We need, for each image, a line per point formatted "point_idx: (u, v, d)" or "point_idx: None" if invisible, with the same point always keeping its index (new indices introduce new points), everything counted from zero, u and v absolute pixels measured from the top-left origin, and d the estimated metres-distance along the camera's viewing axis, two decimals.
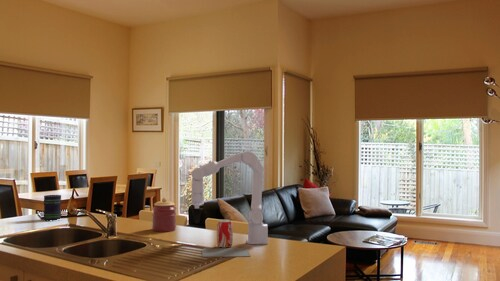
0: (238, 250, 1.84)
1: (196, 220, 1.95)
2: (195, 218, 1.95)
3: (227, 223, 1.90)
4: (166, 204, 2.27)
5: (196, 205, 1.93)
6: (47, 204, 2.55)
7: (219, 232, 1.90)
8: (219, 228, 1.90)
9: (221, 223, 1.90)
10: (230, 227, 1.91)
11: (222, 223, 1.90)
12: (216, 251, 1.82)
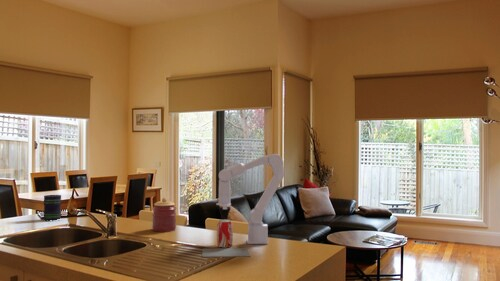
0: (238, 250, 1.84)
1: None
2: (223, 218, 2.01)
3: (227, 223, 1.90)
4: (166, 204, 2.27)
5: (224, 206, 1.95)
6: (47, 204, 2.55)
7: (219, 232, 1.90)
8: (219, 228, 1.90)
9: (221, 223, 1.90)
10: (230, 227, 1.91)
11: (222, 223, 1.90)
12: (216, 251, 1.82)
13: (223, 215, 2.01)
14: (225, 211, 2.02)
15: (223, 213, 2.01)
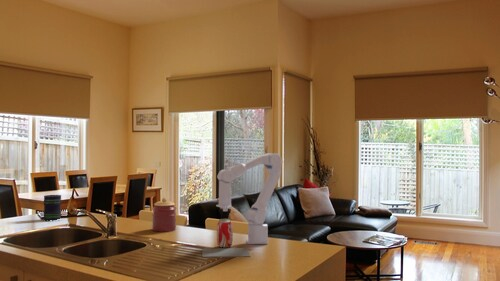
0: (238, 250, 1.84)
1: None
2: None
3: (227, 224, 1.89)
4: (166, 204, 2.27)
5: (224, 208, 1.89)
6: (47, 204, 2.55)
7: (219, 232, 1.89)
8: (219, 228, 1.89)
9: (221, 224, 1.89)
10: (230, 227, 1.89)
11: (222, 224, 1.89)
12: (216, 251, 1.82)
13: (223, 217, 1.95)
14: (225, 213, 1.95)
15: (223, 215, 1.95)
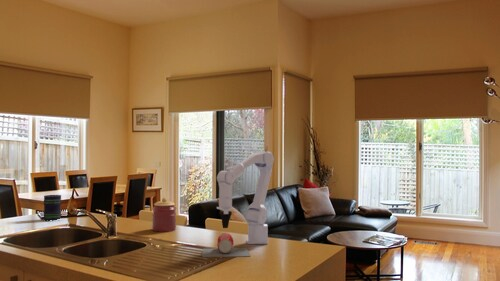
0: (238, 250, 1.84)
1: (225, 225, 1.88)
2: (223, 223, 1.87)
3: (227, 252, 1.78)
4: (166, 204, 2.27)
5: (225, 210, 1.81)
6: (47, 204, 2.55)
7: None
8: None
9: (221, 251, 1.78)
10: None
11: (222, 251, 1.78)
12: (216, 251, 1.82)
13: (224, 220, 1.87)
14: (226, 216, 1.88)
15: (224, 218, 1.88)
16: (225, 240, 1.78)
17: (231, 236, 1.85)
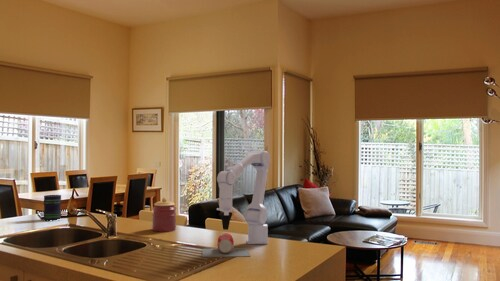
0: (238, 250, 1.84)
1: (225, 227, 1.84)
2: (224, 224, 1.84)
3: (227, 252, 1.78)
4: (166, 204, 2.27)
5: (226, 212, 1.78)
6: (47, 204, 2.55)
7: None
8: None
9: (221, 251, 1.78)
10: None
11: (222, 251, 1.78)
12: (216, 251, 1.82)
13: (224, 221, 1.84)
14: (226, 217, 1.84)
15: (224, 219, 1.84)
16: (225, 240, 1.78)
17: (231, 236, 1.86)
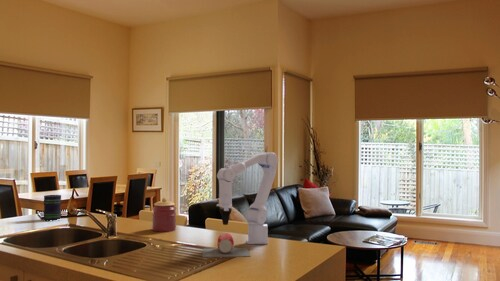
0: (238, 250, 1.84)
1: (225, 222, 1.91)
2: (224, 219, 1.91)
3: (227, 252, 1.78)
4: (166, 204, 2.27)
5: (225, 207, 1.85)
6: (47, 204, 2.55)
7: None
8: None
9: (221, 251, 1.78)
10: None
11: (222, 251, 1.78)
12: (216, 251, 1.82)
13: (224, 217, 1.91)
14: (226, 212, 1.91)
15: (224, 215, 1.91)
16: (225, 240, 1.78)
17: (231, 236, 1.86)
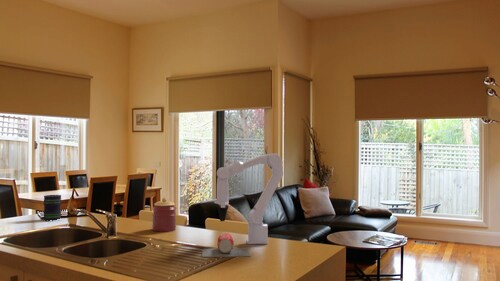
0: (238, 250, 1.84)
1: (222, 218, 2.00)
2: (221, 216, 2.00)
3: (227, 252, 1.78)
4: (166, 204, 2.27)
5: (222, 204, 1.94)
6: (47, 204, 2.55)
7: None
8: None
9: (221, 251, 1.78)
10: None
11: (222, 251, 1.78)
12: (216, 251, 1.82)
13: (221, 213, 2.00)
14: (223, 209, 2.00)
15: (221, 211, 2.00)
16: (225, 240, 1.78)
17: (231, 236, 1.86)
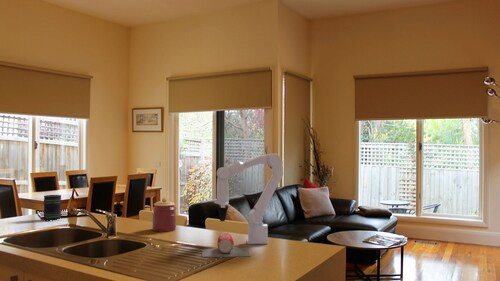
0: (238, 250, 1.84)
1: (222, 218, 2.00)
2: (221, 216, 2.00)
3: (227, 252, 1.78)
4: (166, 204, 2.27)
5: (222, 204, 1.94)
6: (47, 204, 2.55)
7: None
8: None
9: (221, 251, 1.78)
10: None
11: (222, 251, 1.78)
12: (216, 251, 1.82)
13: (221, 213, 2.00)
14: (223, 209, 2.00)
15: (221, 211, 2.00)
16: (225, 240, 1.78)
17: (231, 236, 1.86)
